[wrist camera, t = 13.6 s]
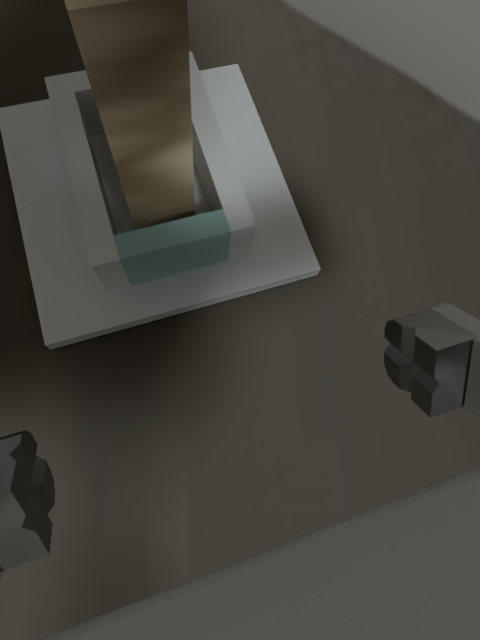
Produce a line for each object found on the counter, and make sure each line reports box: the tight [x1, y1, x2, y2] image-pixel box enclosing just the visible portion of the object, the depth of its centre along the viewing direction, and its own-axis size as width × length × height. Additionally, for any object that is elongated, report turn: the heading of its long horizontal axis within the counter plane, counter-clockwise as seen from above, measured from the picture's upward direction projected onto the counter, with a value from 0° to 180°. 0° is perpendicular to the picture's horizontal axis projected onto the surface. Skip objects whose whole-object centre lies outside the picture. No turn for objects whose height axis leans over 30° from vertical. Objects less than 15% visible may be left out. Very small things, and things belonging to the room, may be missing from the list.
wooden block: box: [64, 0, 195, 230], centre depth 17 cm, size 3×6×12 cm, turn 18°
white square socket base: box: [0, 51, 321, 349], centre depth 22 cm, size 14×14×4 cm
